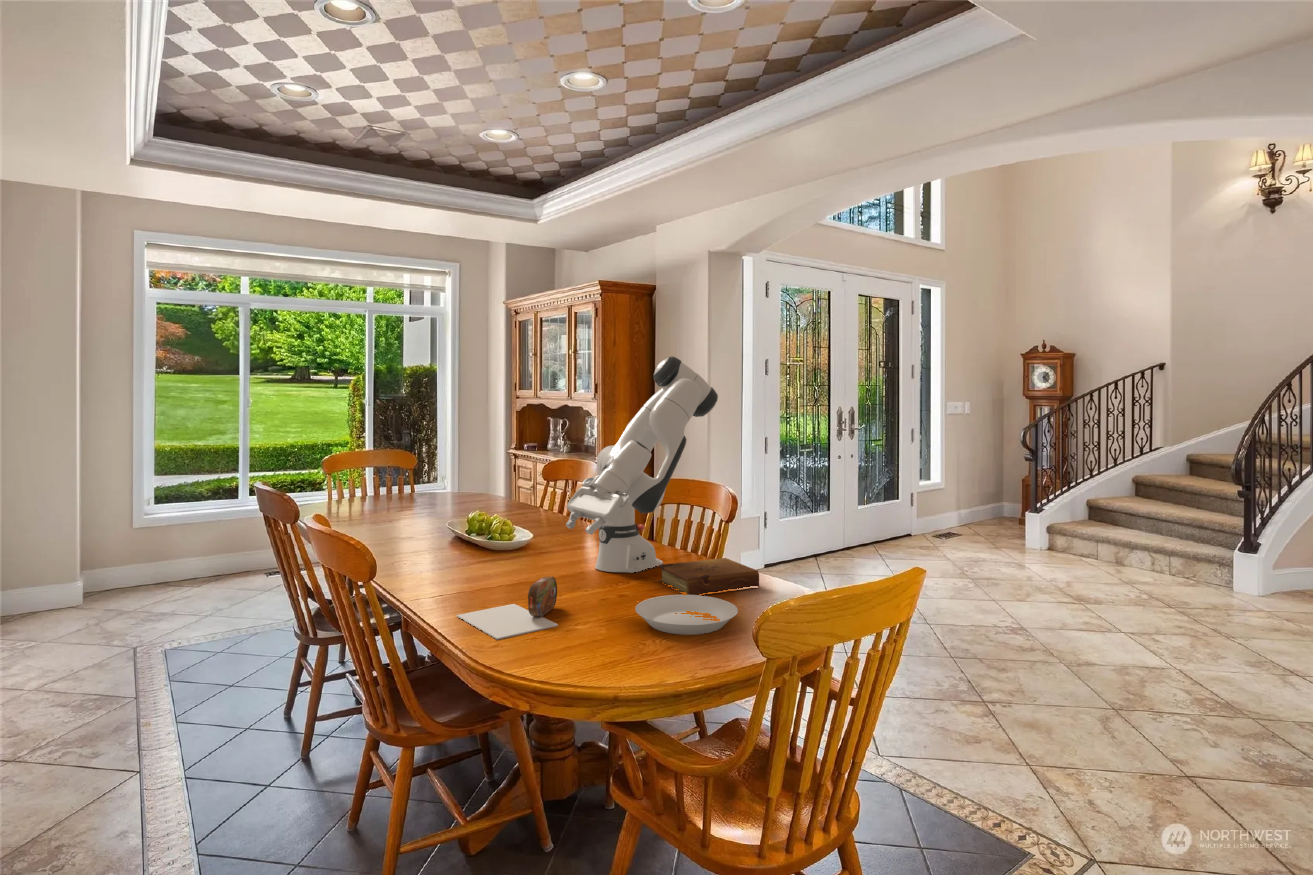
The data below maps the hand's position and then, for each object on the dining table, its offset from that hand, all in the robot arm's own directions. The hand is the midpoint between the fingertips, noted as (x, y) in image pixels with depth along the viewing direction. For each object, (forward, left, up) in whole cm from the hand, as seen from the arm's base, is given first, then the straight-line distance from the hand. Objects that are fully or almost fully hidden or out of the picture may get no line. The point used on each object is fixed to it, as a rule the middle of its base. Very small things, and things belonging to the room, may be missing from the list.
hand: (578, 530), depth 188 cm
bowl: (-13, +28, -21) cm, 37 cm away
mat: (+21, 0, -20) cm, 29 cm away
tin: (+11, 0, -20) cm, 23 cm away
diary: (-41, +6, -21) cm, 46 cm away
